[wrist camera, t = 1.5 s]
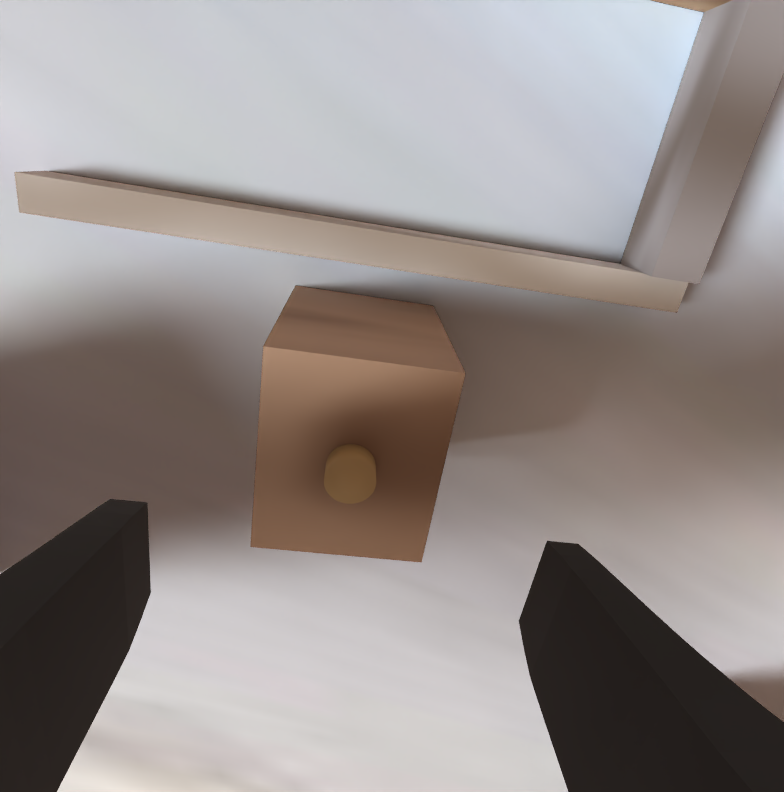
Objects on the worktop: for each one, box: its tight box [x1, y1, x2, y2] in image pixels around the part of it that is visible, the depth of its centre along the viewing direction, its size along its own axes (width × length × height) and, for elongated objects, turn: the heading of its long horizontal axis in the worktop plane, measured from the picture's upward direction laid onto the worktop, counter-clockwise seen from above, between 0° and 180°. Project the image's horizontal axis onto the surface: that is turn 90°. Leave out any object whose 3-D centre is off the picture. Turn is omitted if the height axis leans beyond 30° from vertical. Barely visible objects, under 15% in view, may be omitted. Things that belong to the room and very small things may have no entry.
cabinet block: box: [251, 286, 466, 562], centre depth 15 cm, size 6×4×7 cm
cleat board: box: [14, 0, 784, 313], centre depth 12 cm, size 9×19×5 cm, turn 81°
